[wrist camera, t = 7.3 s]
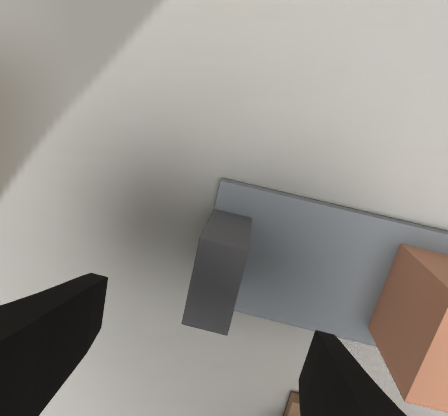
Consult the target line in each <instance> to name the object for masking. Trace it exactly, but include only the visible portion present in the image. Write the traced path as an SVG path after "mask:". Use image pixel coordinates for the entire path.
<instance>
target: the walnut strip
mask: <svg viewBox="0 0 448 416" xmlns="http://www.w3.org/2000/svg"><path fill="white" fill-rule="evenodd" d="M284 416H301V415H300V405H299V394H298V393H294V392H291V395H290V398H289V401H288V404H287V407H286V410H285V413H284Z"/></svg>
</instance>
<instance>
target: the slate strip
mask: <svg viewBox="0 0 448 416" xmlns="http://www.w3.org/2000/svg"><path fill="white" fill-rule="evenodd" d="M400 244H404V245H408V246H412V247H417V248H421V249H425V250H429V251H433V252H438V253H442V254H446V255H448V231H444V230H440V229H436V228H431V227H427V226H423V225H419V224H415V223H410V222H406V221H402V220H398V219H393V218H389V217H385V216H381V215H377V214H372V213H368V212H364V211H360V210H355V209H351V208H347V207H343V206H338V205H334V204H330V203H326V202H322V201H317V200H313V199H309V198H305V197H300V196H296V195H292V194H288V193H284V192H279V191H275V190H271V189H267V188H262V187H258V186H254V185H250V184H245V183H241V182H237V181H233V180H229V179H224V178H222V179H221V181H220V185H219V189H218V194H217V198H216V203H215V208H214V210H213V212H212V214H211V216H210V218H209V220H208V222H207V224H206V227H205V229H204V231H203V233H202V235H201V237H200V239H199V244H198V249H197V253H196V258H195V263H194V268H193V272H192V277H191V282H190V286H189V291H188V296H187V300H186V305H185V310H184V315H183V319H182V324H183V325H187V326H191V327H195V328H199V329H203V330H207V331H211V332H215V333H219V334H222V335H226V336H227V335H228V331H229V327H230V323H231V319H232V315H233V311H237V312H241V313H245V314H249V315H253V316H257V317H261V318H265V319H269V320H273V321H277V322H281V323H285V324H289V325H293V326H297V327H301V328H305V329H309V330H313V331H316V330H318V331H322V332H326V333H330V334H334V335H335V336H336V337H340V338H344V339H348V340H352V341H356V342H360V343H364V344H368V345H372V346H376V347H377V345H376V343H375V341H374V339H373V337H372V335H371V333H370V331H369V329H368V325H369V323H370V320H371V318H372V315H373V313H374V310H375V308H376V305H377V303H378V300H379V297H380V295H381V292H382V290H383V287H384V285H385V282H386V280H387V277H388V274H389V272H390V269H391V267H392V264H393V262H394V259H395V257H396V254H397V252H398V249H399V246H400Z"/></svg>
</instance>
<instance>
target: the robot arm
mask: <svg viewBox="0 0 448 416" xmlns="http://www.w3.org/2000/svg"><path fill="white" fill-rule="evenodd" d="M107 281H108V277H105V276H101V275H97V274H93V273H89V274H86V275H83V276H80V277H78V278H75V279H73V280H70V281H68V282H65V283H62V284H60V285H57V286H55V287H52V288H50V289H47V290H44V291H42V292H39V293H36V294H33V295H30V296H28V297H25V298H22V299H19V300H16V301H13V302H10V303H7V304H4V305H0V416H39V415H40V413H41V412H42V411H43V409H44V408H45V407H46V405H47V404H48V403H49V402H50V400H51V399H52V398H53V396H54V395H55V394H56V393H57V391H58V390H59V389H60V387H61V386H62V385H63V383H64V382H65V381H66V380H67V378H68V377H69V376H70V374H71V373H72V372H73V370H74V369H75V368H76V367H77V365H78V364H79V363H80V361H81V360H82V359H83V357H84V356H85V355H86V353H87V351H88V350H89V348H90V347H91V345H92V343H93V341H94V340H95V338H96V336H97V334H98V333H99V331H100V329H101V325H102V318H103V311H104V303H105V296H106V289H107ZM299 405H300V415H301V416H406V415H405V414H404V413H403V412H402V411H401V410H400V409H399V408H398V407H397V405H396V404H395V403H394V402H393V401H392V400H391V399H390V398H389V397H388V396H387V395H386V394H385V393H384V392H383V391H382V390H381V388H380V387H379V386H378V385H377V384H376V383H375V382H374V381H373V380H372V378H371V377H370V376H369V375H368V374H367V373H366V371H365V370H364V369H363V368H362V367H361V366H360V364H359V363H358V362H357V361H356V360H355V358H354V357H353V356H352V355H351V354H350V352H349V351H348V350H347V349H346V348H345V346H344V345H343V344H342V343H341V342H340V340H339V339H338V338H337V337H336V336H335V335H334V334H330V333H326V332H322V331H318V330H316V331H315V333H314V336H313V339H312V342H311V345H310V348H309V351H308V354H307V357H306V360H305V363H304V366H303V369H302V372H301V374H300V377H299Z"/></svg>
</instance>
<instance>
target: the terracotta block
mask: <svg viewBox="0 0 448 416" xmlns="http://www.w3.org/2000/svg"><path fill="white" fill-rule="evenodd" d="M368 329H369V331H370V333H371V335H372V337H373V339H374V341H375V343H376V345H377V347H378V349H379V351H380V353H381V355H382V357H383V359H384V361H385V363H386V365H387V367H388V369H389V371H390V373H391V375H392V377H393V379H394V381H395V383H396V385H397V387H398V389H399V391H400V393H401V395H402V397H403V399H404V402H408V403H412V404H416V405H420V406H423V407H427V408H431V409H435V410H439V411H443V412H447V413H448V255H446V254H442V253H438V252H433V251H429V250H425V249H421V248H417V247H412V246H408V245H404V244H400V246H399V249H398V252H397V254H396V257H395V259H394V262H393V264H392V267H391V269H390V272H389V274H388V277H387V280H386V282H385V285H384V287H383V290H382V292H381V295H380V297H379V300H378V303H377V305H376V308H375V310H374V313H373V315H372V318H371V320H370V323H369V325H368Z"/></svg>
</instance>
